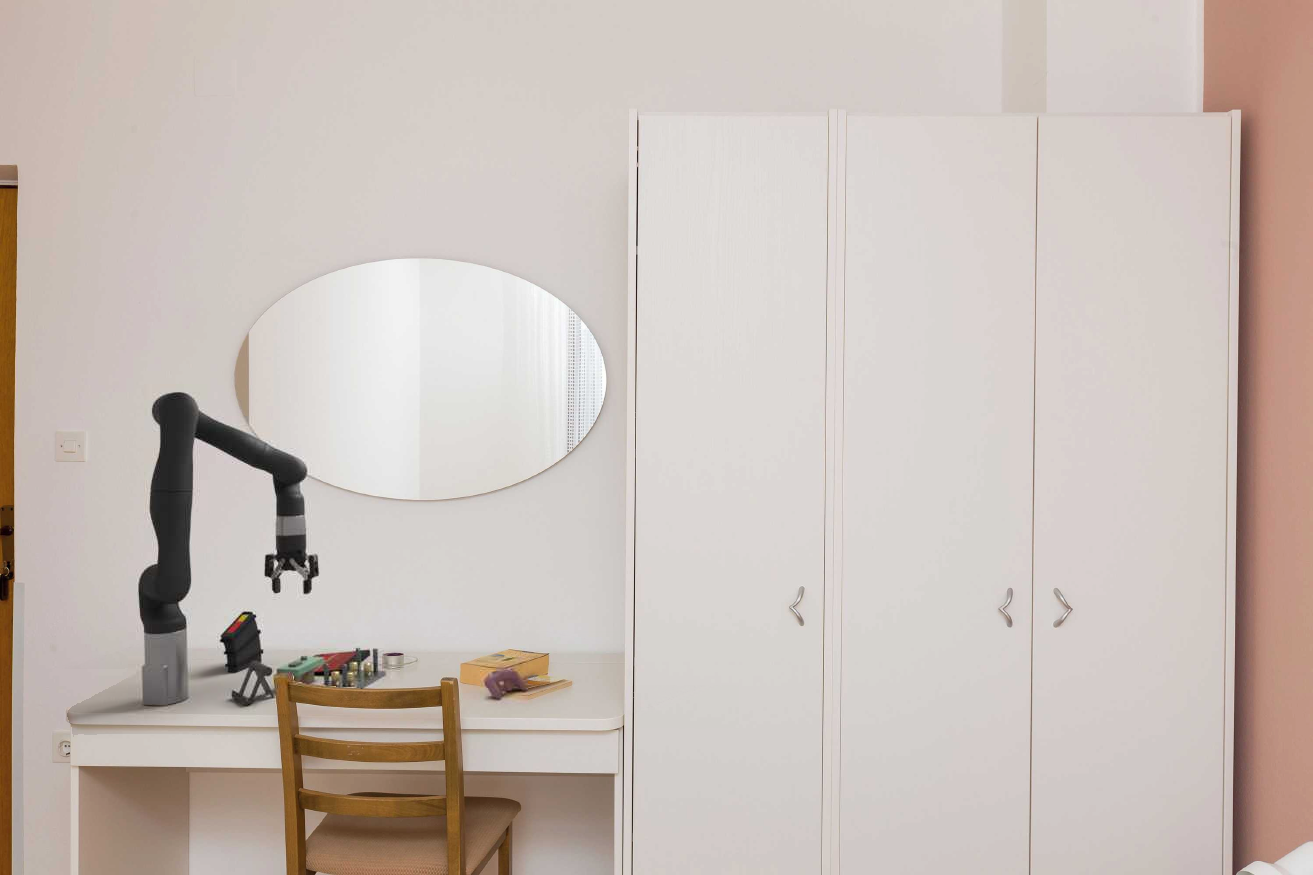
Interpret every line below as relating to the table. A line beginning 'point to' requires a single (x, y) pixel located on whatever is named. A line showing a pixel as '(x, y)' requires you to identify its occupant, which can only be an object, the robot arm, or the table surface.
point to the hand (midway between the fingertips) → (292, 593)
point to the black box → (242, 642)
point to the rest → (305, 677)
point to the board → (301, 665)
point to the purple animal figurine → (509, 679)
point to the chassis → (354, 673)
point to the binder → (339, 661)
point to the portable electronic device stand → (261, 672)
